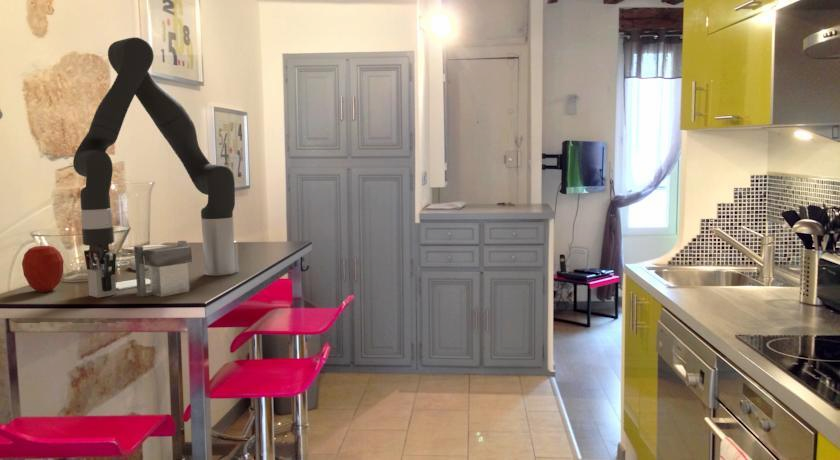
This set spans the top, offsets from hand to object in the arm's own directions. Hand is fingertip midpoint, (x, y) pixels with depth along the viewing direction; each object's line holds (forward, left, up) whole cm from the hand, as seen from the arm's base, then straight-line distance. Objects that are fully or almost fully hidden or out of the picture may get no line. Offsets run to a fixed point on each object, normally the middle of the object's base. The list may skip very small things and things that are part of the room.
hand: (102, 289), depth 186 cm
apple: (+7, -20, -2) cm, 21 cm away
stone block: (0, 0, -1) cm, 1 cm away
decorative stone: (-27, -34, -2) cm, 44 cm away
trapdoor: (-12, +7, +7) cm, 15 cm away
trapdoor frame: (-12, +12, -1) cm, 17 cm away
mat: (-12, -8, -1) cm, 14 cm away
